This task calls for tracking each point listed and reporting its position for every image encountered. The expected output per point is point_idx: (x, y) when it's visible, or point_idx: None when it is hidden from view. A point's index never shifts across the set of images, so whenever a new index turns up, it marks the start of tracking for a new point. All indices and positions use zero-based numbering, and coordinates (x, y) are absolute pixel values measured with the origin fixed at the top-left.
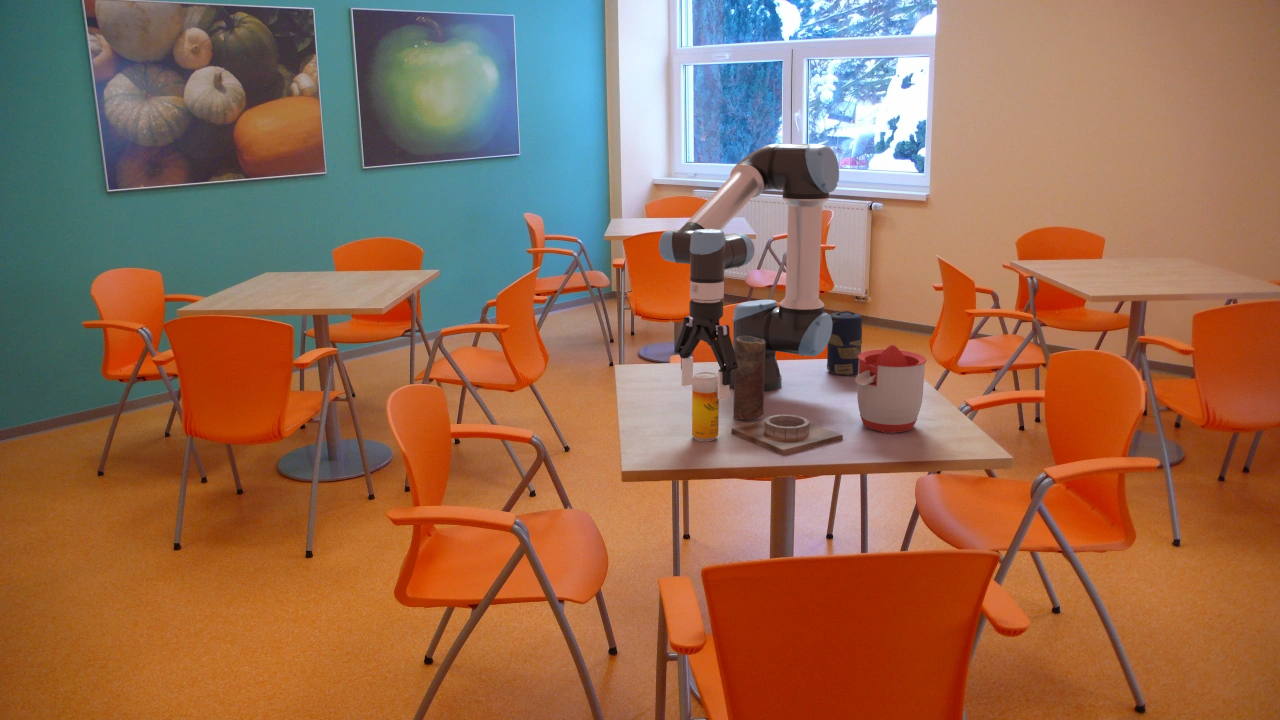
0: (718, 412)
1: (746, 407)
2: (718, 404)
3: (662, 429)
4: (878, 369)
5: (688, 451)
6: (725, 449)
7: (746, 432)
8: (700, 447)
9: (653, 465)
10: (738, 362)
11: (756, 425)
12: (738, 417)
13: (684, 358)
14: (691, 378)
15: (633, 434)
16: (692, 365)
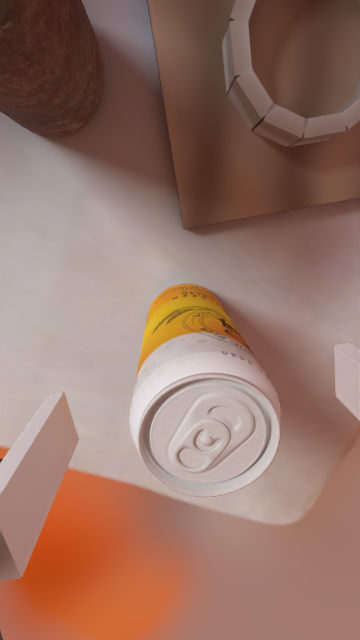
0: (222, 311)
1: (82, 94)
2: (229, 322)
3: (71, 390)
4: None
5: None
6: (294, 312)
7: (241, 203)
8: None
9: (296, 492)
10: None
11: (193, 126)
12: (69, 131)
13: (7, 568)
14: (56, 417)
15: (84, 463)
16: (23, 464)
